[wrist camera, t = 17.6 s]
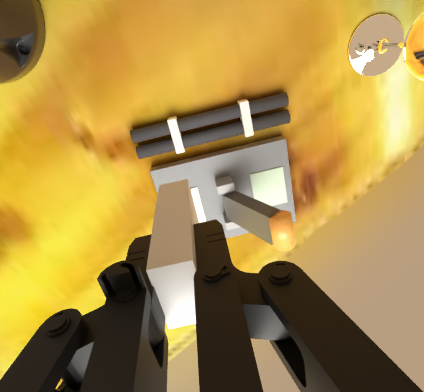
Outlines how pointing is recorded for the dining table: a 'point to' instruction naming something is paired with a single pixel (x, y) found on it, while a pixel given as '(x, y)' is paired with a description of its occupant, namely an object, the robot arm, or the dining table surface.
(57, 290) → the dining table surface
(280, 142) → the breaker panel
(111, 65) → the dining table surface
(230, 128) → the dressed cords
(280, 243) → the breaker lever
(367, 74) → the wineglass
